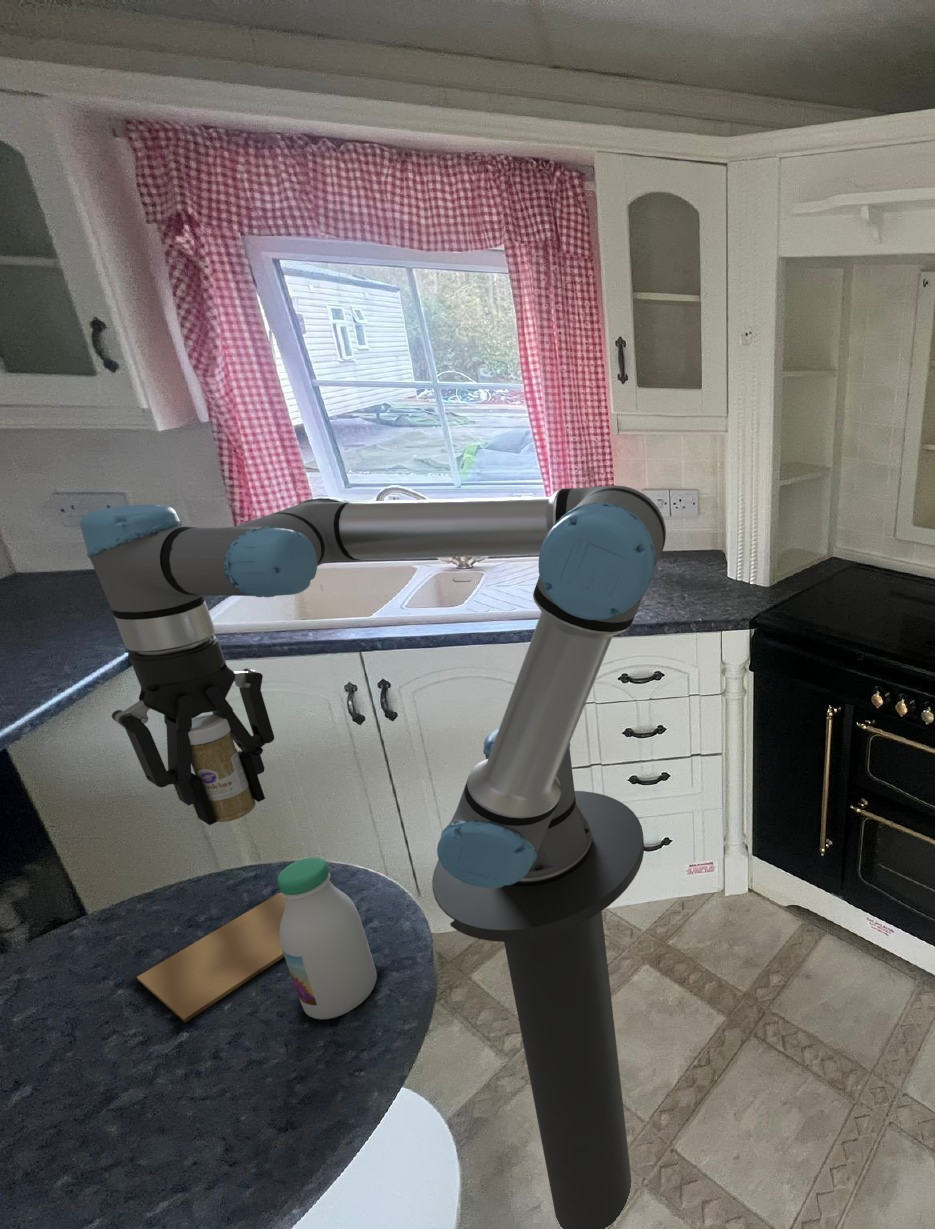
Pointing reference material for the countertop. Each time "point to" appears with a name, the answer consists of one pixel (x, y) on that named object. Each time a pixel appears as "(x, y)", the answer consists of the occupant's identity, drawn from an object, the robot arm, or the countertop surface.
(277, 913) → the cork mat
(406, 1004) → the countertop surface
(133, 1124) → the countertop surface
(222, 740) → the sprinkles bottle
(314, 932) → the milk bottle
